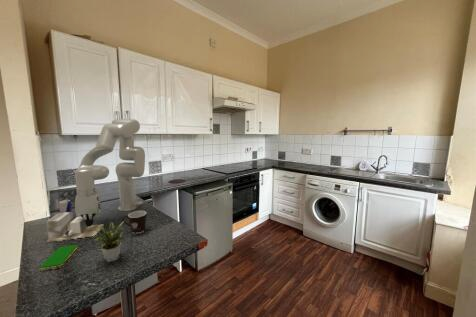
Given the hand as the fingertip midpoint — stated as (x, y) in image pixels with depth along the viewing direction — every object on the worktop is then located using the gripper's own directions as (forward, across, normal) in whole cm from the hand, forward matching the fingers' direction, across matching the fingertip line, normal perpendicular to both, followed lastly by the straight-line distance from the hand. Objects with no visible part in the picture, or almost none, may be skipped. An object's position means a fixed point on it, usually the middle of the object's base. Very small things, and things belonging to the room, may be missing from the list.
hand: (89, 225), depth 106 cm
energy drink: (+4, +19, -18) cm, 26 cm away
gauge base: (+4, +6, 0) cm, 7 cm away
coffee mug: (+4, -23, +5) cm, 24 cm away
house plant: (+4, -17, +28) cm, 33 cm away
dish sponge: (+4, +3, +22) cm, 23 cm away
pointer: (+2, +8, +5) cm, 9 cm away
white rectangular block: (+2, +5, +1) cm, 5 cm away
